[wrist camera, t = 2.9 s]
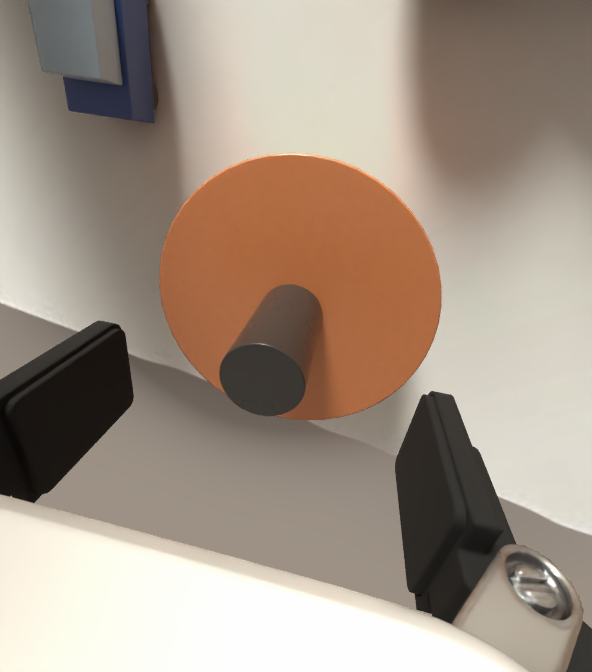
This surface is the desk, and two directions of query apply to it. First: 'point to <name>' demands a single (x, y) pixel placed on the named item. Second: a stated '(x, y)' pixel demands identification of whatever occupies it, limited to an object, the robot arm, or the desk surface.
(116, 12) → the blue and grey blocks
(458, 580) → the robot arm
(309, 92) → the desk surface
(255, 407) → the lid
